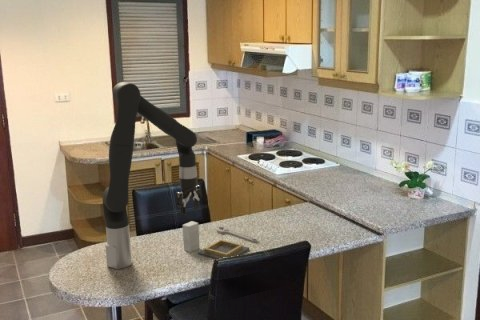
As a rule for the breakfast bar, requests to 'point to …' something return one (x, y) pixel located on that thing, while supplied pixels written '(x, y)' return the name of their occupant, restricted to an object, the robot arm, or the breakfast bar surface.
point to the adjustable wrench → (235, 234)
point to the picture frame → (223, 250)
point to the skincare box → (191, 236)
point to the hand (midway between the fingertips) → (190, 211)
